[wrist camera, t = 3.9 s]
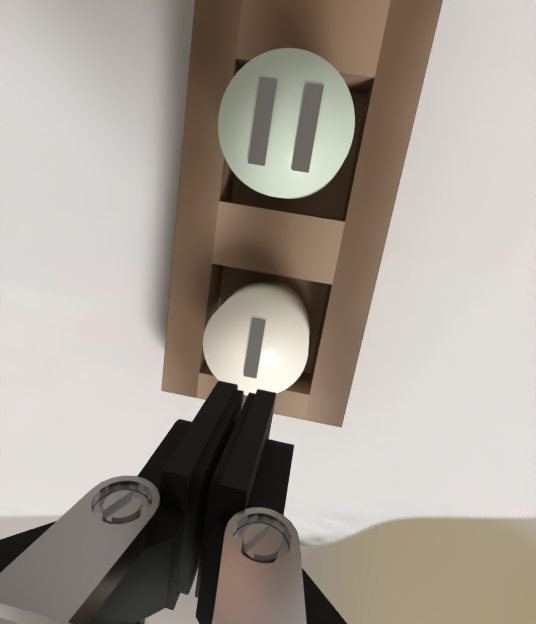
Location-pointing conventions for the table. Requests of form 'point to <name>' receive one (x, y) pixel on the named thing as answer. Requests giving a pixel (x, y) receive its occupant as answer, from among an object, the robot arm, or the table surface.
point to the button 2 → (286, 123)
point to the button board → (302, 211)
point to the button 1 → (259, 337)
